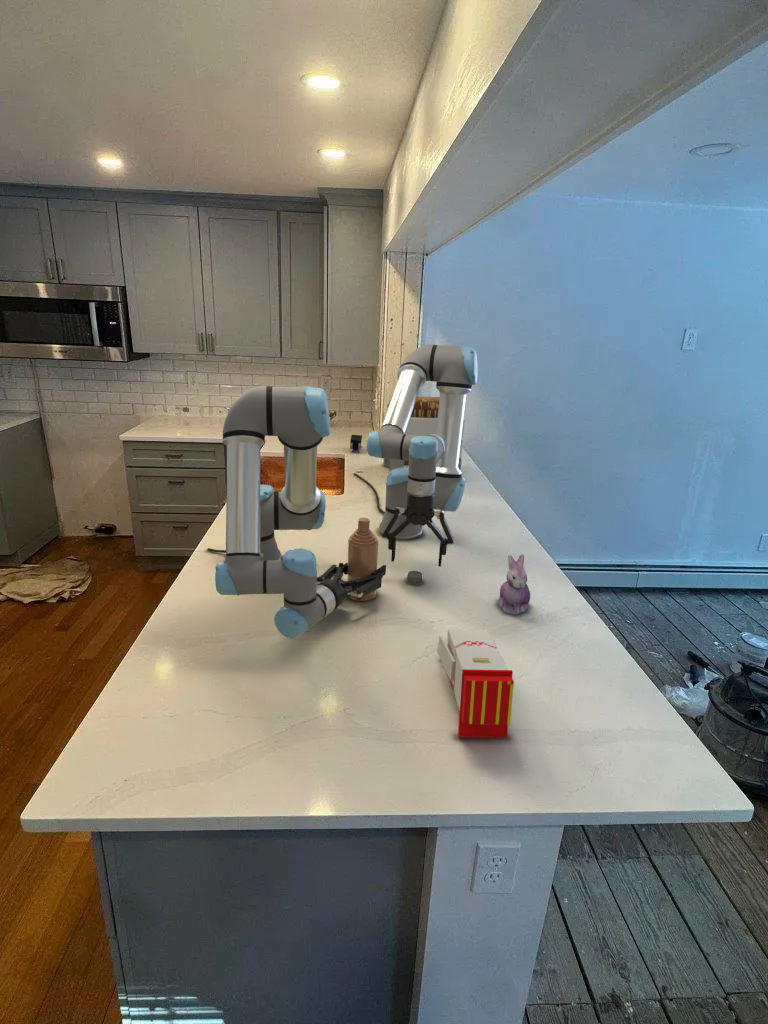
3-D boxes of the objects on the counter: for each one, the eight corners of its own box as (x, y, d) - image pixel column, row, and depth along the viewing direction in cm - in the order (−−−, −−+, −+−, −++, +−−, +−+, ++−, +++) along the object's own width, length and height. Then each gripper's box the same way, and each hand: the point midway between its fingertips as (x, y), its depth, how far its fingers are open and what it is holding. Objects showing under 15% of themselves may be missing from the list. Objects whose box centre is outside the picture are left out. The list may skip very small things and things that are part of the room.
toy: (488, 613, 130) (523, 677, 101) (484, 667, 133) (517, 744, 104) (435, 612, 130) (455, 676, 101) (432, 666, 133) (451, 743, 103)
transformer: (382, 463, 289) (386, 382, 275) (445, 464, 293) (451, 384, 279) (390, 482, 257) (394, 392, 243) (460, 483, 261) (468, 394, 247)
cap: (421, 585, 163) (422, 577, 163) (406, 583, 164) (407, 576, 163) (422, 578, 168) (422, 571, 167) (407, 577, 168) (408, 570, 167)
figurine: (512, 619, 147) (519, 566, 142) (488, 601, 156) (494, 551, 151) (540, 611, 151) (548, 560, 146) (515, 594, 160) (522, 546, 155)
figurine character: (361, 456, 307) (362, 446, 320) (362, 442, 303) (362, 433, 317) (349, 455, 306) (350, 446, 320) (349, 442, 303) (350, 433, 316)
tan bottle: (348, 601, 153) (349, 525, 145) (345, 587, 160) (347, 514, 153) (377, 600, 154) (380, 524, 146) (374, 586, 161) (377, 514, 154)
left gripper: (290, 600, 146) (339, 568, 165) (360, 623, 136) (403, 587, 155) (290, 574, 143) (340, 544, 162) (361, 596, 134) (404, 562, 153)
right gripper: (373, 493, 155) (371, 563, 162) (465, 501, 151) (459, 572, 159) (378, 484, 162) (376, 552, 169) (466, 492, 158) (460, 560, 166)
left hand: (371, 565), depth 159 cm, fingers closed on tan bottle, 8 cm apart
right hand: (416, 562), depth 164 cm, fingers open, 13 cm apart
